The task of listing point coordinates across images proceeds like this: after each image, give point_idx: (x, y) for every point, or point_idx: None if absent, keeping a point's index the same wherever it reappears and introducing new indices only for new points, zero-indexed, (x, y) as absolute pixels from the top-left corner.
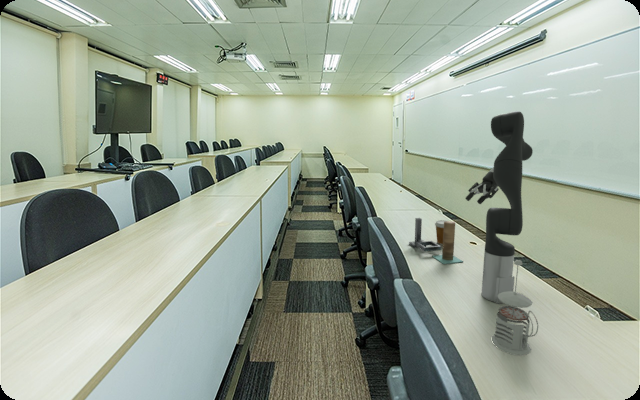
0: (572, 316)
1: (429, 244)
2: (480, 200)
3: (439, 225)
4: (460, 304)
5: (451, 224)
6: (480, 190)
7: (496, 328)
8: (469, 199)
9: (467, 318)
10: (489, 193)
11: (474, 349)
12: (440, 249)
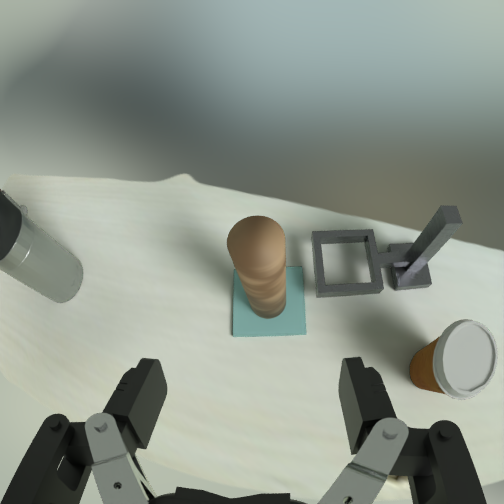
0: (2, 344)
1: (371, 280)
2: (126, 374)
3: (450, 328)
4: (76, 209)
5: (228, 236)
6: (230, 499)
7: (17, 206)
8: (343, 400)
9: (54, 202)
10: (40, 429)
11: (29, 184)
12: (316, 294)
